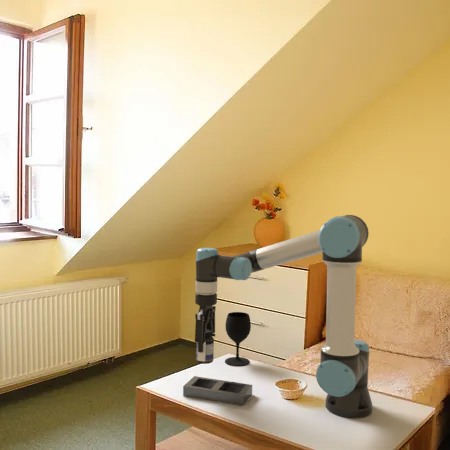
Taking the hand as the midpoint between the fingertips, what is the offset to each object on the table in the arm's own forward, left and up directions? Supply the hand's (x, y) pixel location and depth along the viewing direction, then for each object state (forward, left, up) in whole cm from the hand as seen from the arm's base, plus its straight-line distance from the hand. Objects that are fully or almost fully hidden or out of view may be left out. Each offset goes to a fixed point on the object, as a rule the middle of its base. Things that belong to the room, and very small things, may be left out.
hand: (204, 357), depth 183 cm
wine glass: (-1, -34, -13) cm, 37 cm away
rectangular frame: (-5, 0, -13) cm, 14 cm away
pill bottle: (0, 0, -2) cm, 2 cm away
